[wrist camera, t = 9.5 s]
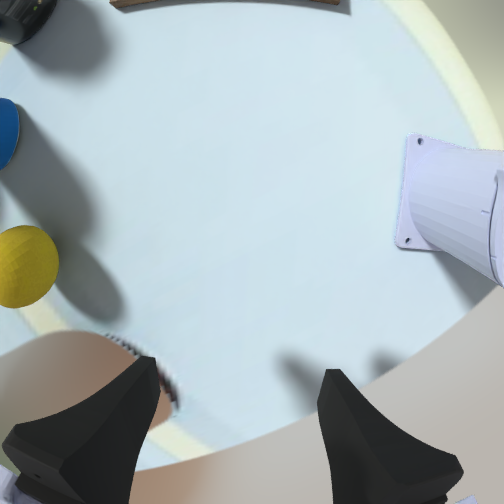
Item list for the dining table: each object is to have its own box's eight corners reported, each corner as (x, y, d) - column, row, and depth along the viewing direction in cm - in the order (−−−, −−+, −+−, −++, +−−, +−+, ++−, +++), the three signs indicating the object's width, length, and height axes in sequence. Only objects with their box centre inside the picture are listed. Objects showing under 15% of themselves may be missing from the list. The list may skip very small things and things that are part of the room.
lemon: (79, 225, 19) (9, 260, 12) (75, 289, 21) (17, 340, 13) (30, 208, 19) (-39, 233, 11) (28, 268, 20) (-31, 307, 13)
